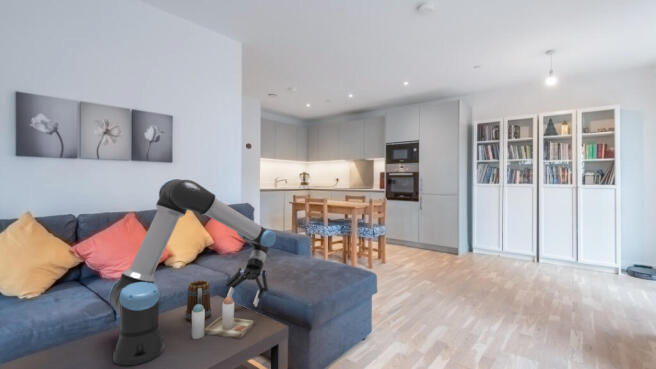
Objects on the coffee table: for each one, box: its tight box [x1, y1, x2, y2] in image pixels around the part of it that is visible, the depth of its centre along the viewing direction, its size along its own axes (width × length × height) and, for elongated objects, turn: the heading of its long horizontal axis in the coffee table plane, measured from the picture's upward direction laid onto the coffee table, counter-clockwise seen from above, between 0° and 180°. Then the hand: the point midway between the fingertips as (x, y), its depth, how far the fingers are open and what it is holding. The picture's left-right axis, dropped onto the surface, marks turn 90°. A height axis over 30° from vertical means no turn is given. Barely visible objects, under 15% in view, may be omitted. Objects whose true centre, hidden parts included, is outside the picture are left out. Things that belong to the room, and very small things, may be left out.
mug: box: [185, 279, 212, 322], centre depth 137 cm, size 16×11×15 cm
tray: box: [204, 316, 256, 340], centre depth 128 cm, size 16×12×2 cm
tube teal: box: [191, 304, 206, 340], centre depth 122 cm, size 5×5×12 cm
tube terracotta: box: [221, 296, 235, 330], centre depth 128 cm, size 5×5×12 cm
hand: (240, 303), depth 139 cm, fingers open, 13 cm apart
